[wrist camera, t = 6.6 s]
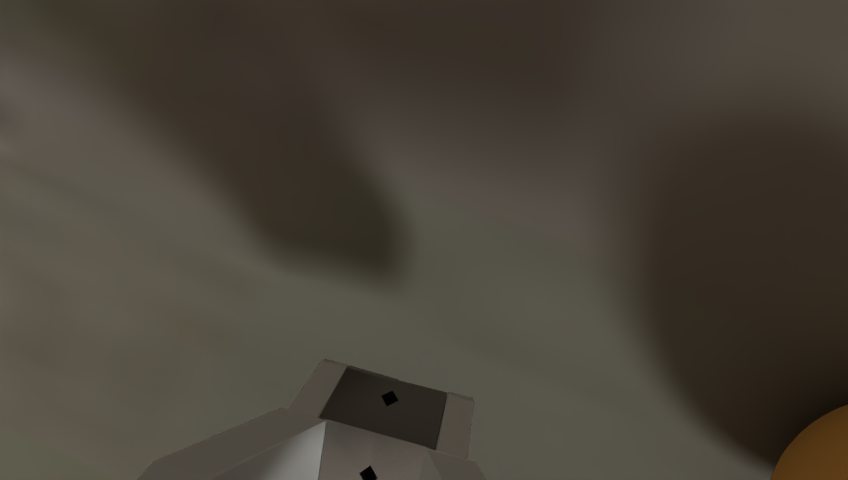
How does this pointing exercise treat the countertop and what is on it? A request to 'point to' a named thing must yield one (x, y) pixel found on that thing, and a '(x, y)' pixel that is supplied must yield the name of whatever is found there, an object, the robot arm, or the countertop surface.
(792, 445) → the ball
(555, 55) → the countertop surface
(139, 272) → the countertop surface
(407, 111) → the countertop surface
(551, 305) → the countertop surface
